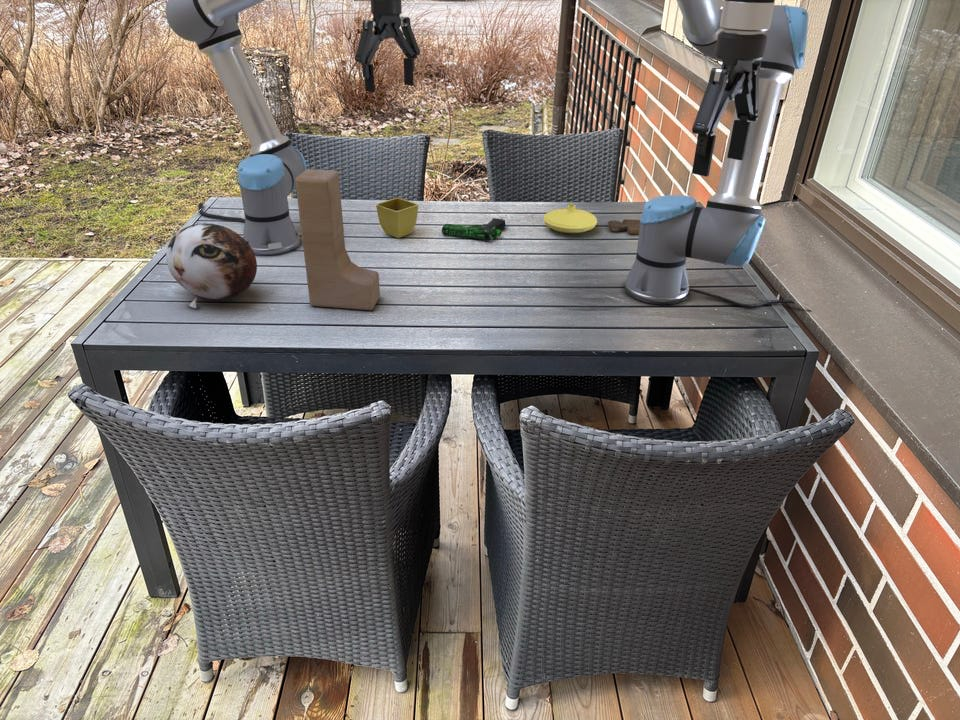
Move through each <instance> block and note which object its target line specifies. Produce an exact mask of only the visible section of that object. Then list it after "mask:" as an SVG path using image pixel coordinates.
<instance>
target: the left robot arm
mask: <svg viewBox="0 0 960 720" xmlns="http://www.w3.org/2000/svg"><path fill="white" fill-rule="evenodd" d="M265 1H266V0H167V1H166V4H165V10H164V11H165V12H164V13H165V19H166V21H167V24H168V26H169V27H170V29H171V30H172V31H173V33H175V34H176V35H177V36H178V37H180V38H181V39H183V40H185V41H187V42H193V43H195V45H196V46H197V48H198V51H199V52H200V53H202V54H204V55H206V56H207V57H209V60H210V62H211V63H212V66H213V68H214V70H215V72H216V75H217V77H218V78H219V81H220V83H221V85H222V87H223V89H224V91H225V93H226V95H227V97H228V99H229V102H230V104H231V105H232V108H233V110H234V112H235V114H236V116H237V118H238V121H239V122H240V124H241V127H242V129H243V131H244V133H245V135H246V137H247V140H248V141H249V144H250V146H251V147H250V149H249V153H248V154H249V156H248V157H246V158H244V159H242V160H241V161H240V162H239V163H238V166H237V180H238V184H239V190H240V196H241V201H242V208H243V212H244V213H243V215H244V218H243V217H238V216H237V217H236V216H226V215H219V214H213V213H208V212H205V211H203V210H202V209H203V205H204V204H203V203H202V202H199V203H198V206H197V211H198V213H199V214H200V215H202V216H204V217H208V218H213V219H219V220H225V221H236V222H241V223H244V226H243V228H244V229H243V235H242V237H243V238H244V239H245V240H246V241H249V242H248V244H249V245H250V247H251V248H252V250H253V252H254V254H255V256H256V255H257V256H275V255H281V254H282V255H283V254H285V253H289V252H291V251H293V250H296V249H297V248H298V247H299V246H300V244H301V241H300V235H299V233H298V231H297V229H296V227H295V225H294V223H293V220H292V218H291V216H290V207H289V200H288V196H290V195H291V194H292V193H293V192H294V191H296V182H295V179H296V178H297V177H298V176H299V175H300V174H301V173H303V172H304V171H305V170H307V169H308V168H307V167H308V166H307V162H306V159H305V157H304V155H303V153H302V152H301V151H300V150H298V148H295V147H294V146H293V145H292V143H291V141H290V138H289V137H288V136H286V135H283V134H282V133H281V131H280V129H279V127H278V125H277V123H276V121H275V118H274V116H273V114H272V111H271V109H270V108H269V105H268V103H267V101H266V99H265V96H264V94H263V92H262V89H261V88H260V85H259V83H258V81H257V79H256V77H255V74H254V72H253V69H252V68H251V66H250V63H249V61H248V58H247V57H246V55H245V52H244V49H243V48H242V46H241V43H242V39H243V34H242V31H241V29H240V27H239V18H240V14H239V13H241V12H243V11H245V10H247V9H250V8H252V7H254V6H256V5H258V4H261V3H263V2H265ZM402 8H403V7H402V0H370V12H371V14H372V17H373V18H372V20H371V19H363V20H362V30H361V35H360V37H359V42H358V45H357V49H356V52H355V56H354V62H356V63H359V64H360V65H361V71H362V78H363V79H364V89H365V92H368V93H372V94H373V93H376V91H375V90H376V89H375V73H374V71H375V69H374V64H373V63H372V62H373V59H374V57H375V55H376V53H377V51H378V49H379V47H380V45H381V44H382V42H383V41H384V40H389V39H394V40H395V42H396V44H397V45H398V47H399V48H400V50H401V51H402V53H403V54H404V56H405V57H403V82H404V83H403V84H404V85H405V86H411V87H412V86H415V85H414V72H415V60H416V59H417V58H418V56H420V55H421V49H420V48H419V45H418V42H417V38H416V36H415V34H414V32H413V29H412V25H411V24H412V23H411V18H410V17H409V16H401V14H402V13H403V9H402ZM201 208H202V209H201ZM200 209H201V210H200ZM199 210H200V211H199Z"/></svg>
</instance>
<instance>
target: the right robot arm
mask: <svg viewBox="0 0 960 720" xmlns="http://www.w3.org/2000/svg"><path fill="white" fill-rule="evenodd" d="M676 3H677V5H678V7H679V11H680V12H681V13H680V14H681V15H682V20H681V28H682V31H683V34H684V36H685V39H686V40H687V41H688V43H689V44H690V45H691V46H692V47H693V48H694V49H695V50H697V51H698V52H699V53H701V54H702V55H704V56H706V57H708V58H710V59H712V60H714V61H717V62H720V63H721V67H720V68H718V67H712V68H711V70H710V72H709V77H708V83H707V86H706V88H705V90H704V94H703V97H702V100H701V102H700V104H699V108H698V111H697V113H696V117H695V119H694V122H693V124H692V128H691V131H692V134H694V135H695V134H696V135H697V139H696V145H695V151H694V157H693V163H692V169H691V174H692V175H697V176H701V177H709V176H710V172H711V171H710V170H711V166H712V160H713V154H714V149H715V144H716V138H717V135H715V132H716V130H717V128H718V125H719V123H720V121H721V119H722V117H723V115H724V113H725V111H726V109H727V107H728V105H729V102H730V101H732V100H734V107H735V109H734V113H733V118H732V121H731V125H730V131H729V135H728V139H727V144H726V148H725V152H724V157H723V161H722V166H721V170H720V174H719V180H718V184H717V188H716V192H715V194H713V195H712V196H711V197H709V198H708V199H707V200H706V206H705V207H703V206H697V205H698V203H697V201H696V200H697V199H695V198H694V197H693V196H689V195H684V194H669V195H668V194H667V195H660V196H656V197H653V198H651V199H649V200H647V201H646V202H645V203H644V205H643V208H642V213H641V218H640V219H639V220H640V231H639V234H638V239H637V247H636V253H635V255H636V256H635V260H634V262H633V264H632V266H631V268H630V270H629V272H628V274H627V276H626V278H625V281H624V287H623V288H624V292H625V293H626V294H627V295H628V296H629V297H630V298H632V299H633V300H636V301H639V302H641V303H647V304H651V305H659V306H660V305H662V306H666V305H667V306H668V305H676V304H679V303H682V302H684V301H685V300H687V298H688V297H689V292H692V293H695V294H699V295H703V296H706V297H707V296H708V297H711V298H715V299H718V300H721V301H724V302H727V303H728V304H729V303H730V304H731V305H734V306H737V307H743V308H757V307H761V306H764V305H769V304H794V305H796V304H795V303H794V302H793V301H792V299H791V300H790V299H781V300H780V299H779V300H778V299H769V300H764V301H761V302H758V303H752V304H751V303H741V302H737V301H735V300H732V299H729V298H728V297H727V298H726V297H724V296H721V295H718V294H715V293H712V292H711V293H710V292H707V291H703V290H699V289H696V288H692V287H690V285H689V279H688V272H687V267H686V262H687V258H689V259H695V260H700V261H705V262H710V263H716V264H721V265H724V266H735V267H744V266H746V265H747V264H749V262H750V261H751V260H752V259H751V258H752V257H753V254H754V252H755V250H756V249H757V246H758V243H759V241H760V237H761V235H762V232H763V230H764V226H765V223H766V221H767V219H766V217H765V216H764V215H761V211H762V207H761V205H760V203H759V201H758V199H757V198H758V193H759V189H760V185H761V181H762V176H763V171H764V168H765V163H766V160H767V155H768V151H769V148H770V142H771V138H772V134H773V130H774V125H775V122H776V118H777V113H778V108H779V104H780V100H781V97H782V92H783V88H784V86H785V85H786V83H788V82H789V81H790V80H792V79H793V78H794V75H795V71H796V70H800V69H802V68H803V67H804V63H805V56H806V48H807V37H808V29H809V28H808V27H809V12H808V11H807V9H806V8H804V7H801V6H792V5H788V4H783V5H782V4H775V3H776V0H676Z"/></svg>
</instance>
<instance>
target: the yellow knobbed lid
mask: <svg viewBox="0 0 960 720" xmlns="http://www.w3.org/2000/svg"><path fill="white" fill-rule="evenodd" d="M543 222H544V225H545V226H546V227H548V228H550V229H551V230H554V231H556V232H559V233H564V234H580V233H584V232H585V233H586V232H587V231H591V230H592V229H594V228H596V226H597V223H598V219H597V217H596V215H595V214H593V213H591V212H589V211H587V210H584V209H578V208H576V205H575V204H571V203H570V204H567V208H557V209H552V210H549V211H548V212H547V213H545V214H544V216H543Z"/></svg>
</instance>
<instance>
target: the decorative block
mask: <svg viewBox="0 0 960 720" xmlns="http://www.w3.org/2000/svg"><path fill="white" fill-rule="evenodd" d="M295 182H296V189H295V191H296V197H297V208H298V214H299V223H300V232H301V241H302V249H303V257H304V265H305V274H306V283H307V290H308V297H309V304H310V306H312V307H323V308H324V307H325V308H337V309H350V310H351V309H352V310H363V311H371V310H373V309H374V307H375V306H376V304H377V302H378V301H379V299H380V297H381V290H380V289H381V287H380V274H379V271H377V270H372V269H369V268H363V267H360V266H359V265H357V264H356V263H354V262H352V260H351V258H350V256H349V253H348V252H347V249H346V242H345V230H344V218H343V207H342V206H343V205H342V197H341V185H340V174H339V172H338V171H337V170H331V169H312V168H307V170H305V171H304V172H303V173H301V174H300V175H299V176H298V177H297V178H296V179H295Z"/></svg>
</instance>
